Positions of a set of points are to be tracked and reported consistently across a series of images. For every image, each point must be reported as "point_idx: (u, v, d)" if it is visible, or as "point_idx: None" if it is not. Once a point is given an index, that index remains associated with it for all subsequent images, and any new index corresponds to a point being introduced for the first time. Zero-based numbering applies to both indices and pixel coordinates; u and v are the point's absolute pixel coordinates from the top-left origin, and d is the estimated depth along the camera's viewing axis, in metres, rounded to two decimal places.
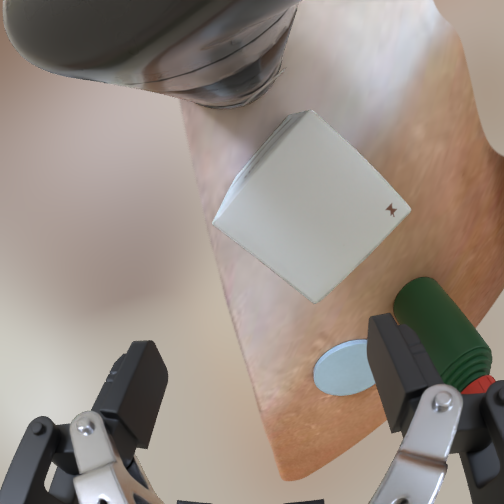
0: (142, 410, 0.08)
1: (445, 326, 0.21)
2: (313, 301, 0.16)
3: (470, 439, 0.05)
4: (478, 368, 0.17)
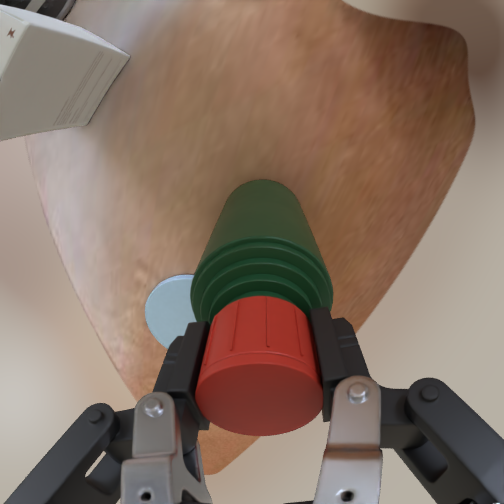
0: None
1: (230, 217, 0.15)
2: None
3: (395, 435, 0.06)
4: (253, 280, 0.11)
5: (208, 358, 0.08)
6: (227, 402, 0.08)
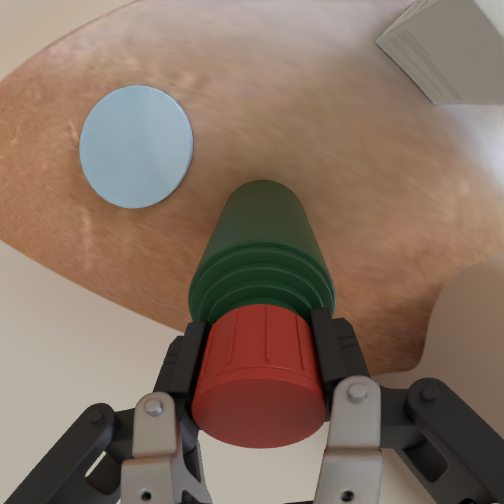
0: None
1: (315, 240, 0.15)
2: None
3: (395, 435, 0.06)
4: None
5: (205, 370, 0.08)
6: (225, 416, 0.07)
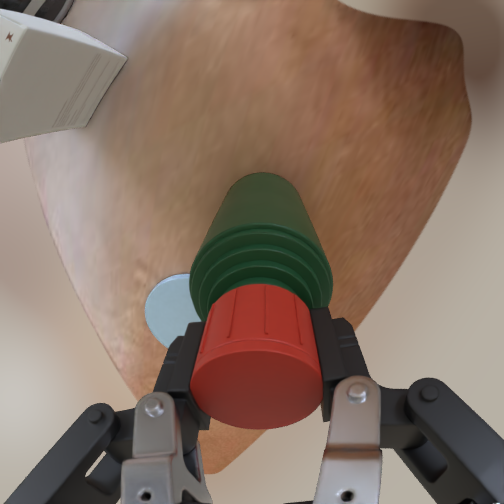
0: None
1: (225, 210, 0.15)
2: None
3: (394, 435, 0.06)
4: (246, 266, 0.11)
5: None
6: (289, 400, 0.08)
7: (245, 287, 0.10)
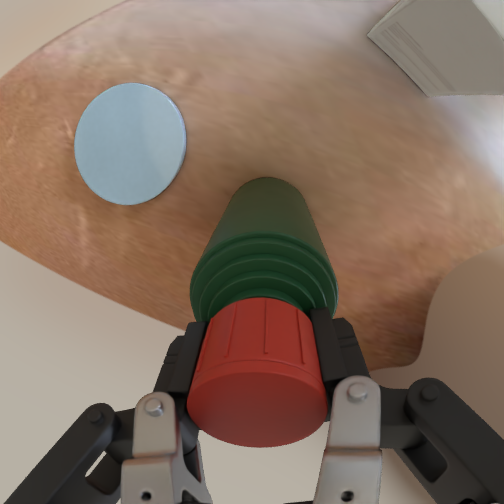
0: None
1: (313, 227, 0.15)
2: None
3: (394, 435, 0.06)
4: None
5: None
6: (291, 420, 0.07)
7: (244, 301, 0.09)
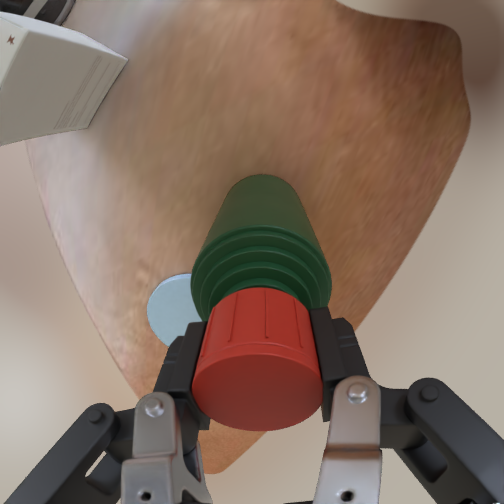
0: None
1: (218, 218, 0.16)
2: None
3: (394, 435, 0.06)
4: (238, 270, 0.11)
5: (206, 349, 0.08)
6: (225, 395, 0.08)
7: None
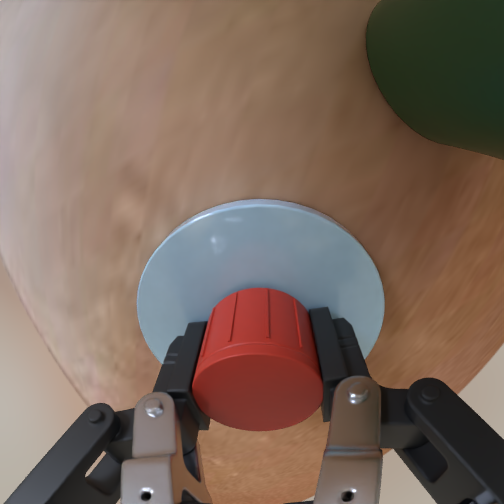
0: None
1: None
2: None
3: (395, 435, 0.06)
4: None
5: (206, 350, 0.08)
6: (225, 395, 0.08)
7: None
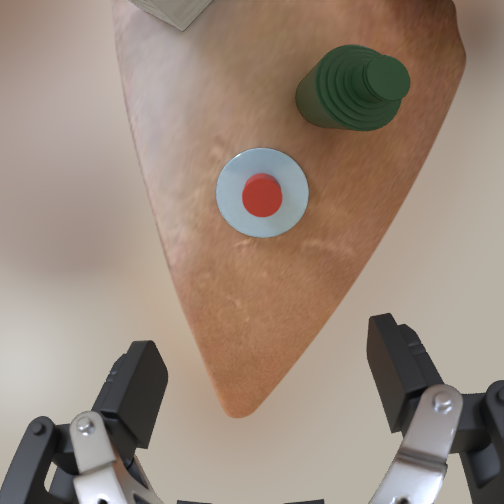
0: (141, 410, 0.08)
1: None
2: None
3: (470, 439, 0.05)
4: (354, 55, 0.15)
5: (246, 184, 0.29)
6: (252, 196, 0.28)
7: None
